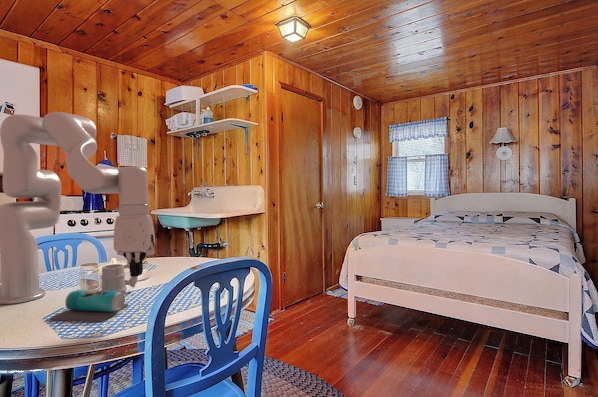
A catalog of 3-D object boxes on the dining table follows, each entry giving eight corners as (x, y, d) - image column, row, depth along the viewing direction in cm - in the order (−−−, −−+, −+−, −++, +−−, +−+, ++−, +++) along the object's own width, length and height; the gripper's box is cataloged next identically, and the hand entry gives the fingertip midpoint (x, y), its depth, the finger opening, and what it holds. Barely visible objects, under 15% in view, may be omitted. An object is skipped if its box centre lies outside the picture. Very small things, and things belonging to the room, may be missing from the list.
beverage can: (112, 295, 93) (63, 294, 95) (114, 315, 94) (65, 313, 96) (125, 288, 99) (78, 286, 101) (126, 306, 100) (80, 305, 102)
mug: (96, 295, 113) (95, 260, 112) (133, 287, 122) (132, 254, 121) (105, 300, 108) (104, 263, 107) (142, 291, 117) (141, 257, 116)
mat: (50, 319, 93) (50, 317, 93) (82, 304, 104) (82, 302, 104) (101, 321, 91) (100, 319, 91) (128, 306, 103) (128, 304, 103)
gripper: (100, 212, 92) (102, 278, 93) (152, 211, 90) (154, 279, 91) (118, 210, 100) (120, 271, 100) (166, 209, 98) (168, 272, 99)
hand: (136, 275), depth 96 cm, fingers closed
